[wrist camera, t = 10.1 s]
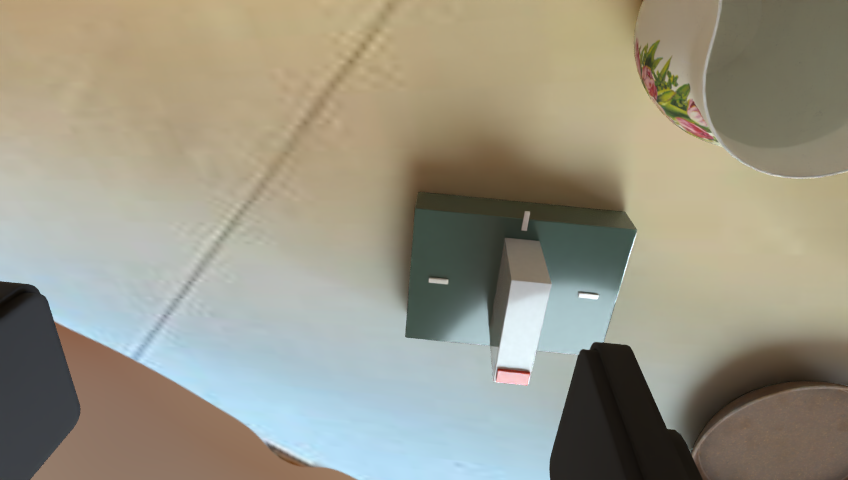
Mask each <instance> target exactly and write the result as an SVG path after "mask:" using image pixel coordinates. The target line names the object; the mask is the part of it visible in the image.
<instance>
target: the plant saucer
mask: <svg viewBox="0 0 848 480" xmlns="http://www.w3.org/2000/svg"><path fill="white" fill-rule="evenodd" d="M691 455H692V457H693V459H694V461H695V464H696V466H697V468H698V470H699V472H700V474H701V476H702V478H703V480H848V386H845V385H840V384H834V383H826V382H813V381H796V382H786V383H779V384H775V385H771V386H767V387H763V388H760V389H757V390H754V391H751V392H749V393H747V394H745V395H743V396H741V397H739V398H737V399H735V400H734V401H732V402H730V403H729V404H727V405H726V406H725V407H723V408H722V409H721V410H720V411H718V412H717V413H716V414H715V415H714V416H713V417H712V418H711V420H710V421H709V422H708V423H707V424H706V426H705V427H704V429H703V430H702V432H701V433H700V435H699V437H698V438H697V440H696V442H695V445H694V447H693V449H692V452H691Z"/></svg>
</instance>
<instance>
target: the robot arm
mask: <svg viewBox="0 0 848 480" xmlns="http://www.w3.org/2000/svg"><path fill="white" fill-rule="evenodd" d="M79 416H80V404H79V401H78V397H77V394H76V391H75V388H74V385H73V381H72V378H71V375H70V371H69V368H68V365H67V362H66V359H65V356H64V352H63V349H62V346H61V342H60V339H59V336H58V333H57V330H56V326H55V323H54V320H53V317H52V313H51V310H50V307H49V304H48V301H47V299H46V297H45V296H43V295H41V294H40V292H39V290H38V289H37V288H36V287H35V286H33V285H29V284H21V283H11V282H1V281H0V480H30V479H31V478H32V477H33V476H34V474H35V473H36V472H37V471H38V470H39V468H40V467H41V466H42V465H43V464H44V462H45V461H46V460H47V459H48V457H50V455H51V454H52V453H53V452H54V451H55V449H56V448H57V447H58V445H60V443H61V442H62V441H63V440H64V439H65V437H66V436H67V435H68V434H69V433H70V431H71V430H72V429H73V428H74V426H75V425H76V423H77V421H78V419H79ZM550 480H703V478H702V476H701V474H700V472H699V470H698V468H697V466H696V464H695V461H694V459H693V457H692V455H691V453H690V451H689V449H688V446H687V444H686V442H685V441H684V439H683V438H682V436H681V435H680V434H679V433H678V432H677V431H676V430H670V429H667V428H666V426H665V423H664V421H663V419H662V416H661V414H660V412H659V410H658V407H657V405H656V403H655V401H654V398H653V396H652V394H651V392H650V389H649V387H648V385H647V383H646V380H645V378H644V376H643V374H642V371H641V369H640V367H639V365H638V362H637V360H636V358H635V355H634V353H633V351H632V349H631V348H630V347H629V346H628V345H621V344H611V343H601V342H594V343H593V344H592V345H591V347H590V350H586V349H582V350H581V351H580V352H579V355H578V358H577V362H576V366H575V369H574V373H573V377H572V380H571V384H570V387H569V391H568V395H567V398H566V402H565V406H564V409H563V413H562V417H561V420H560V424H559V428H558V431H557V435H556V439H555V442H554V446H553V450H552V453H551V458H550Z"/></svg>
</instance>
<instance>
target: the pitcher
mask: <svg viewBox="0 0 848 480" xmlns="http://www.w3.org/2000/svg"><path fill="white" fill-rule="evenodd" d="M634 55H635V60H636V65H637V70H638V73H639V76H640V79H641V82H642V84H643V86H644V88H645V90H646V91H647V93H648V95H649V97H650V98H651V100H652V101H653V102H654V104H655V105H656V106H657V108H658V109H659V110H660V111H661V112H662V113H663V114H664V115H665V116H666V117H667V118H668V119H669V120H670V121H671V122H673V123H674V124H675V125H676V126H678V127H679V128H681V129H682V130H684V131H685V132H687V133H688V134H690V135H692V136H694V137H696V138H699V139H701V140H703V141H705V142H708V143H711V144H714V145H717V146H721V147H723V148H724V149H725V150H726V151H727V152H728V153H729V154H730V155H731V156H733V157H734V158H736V159H737V160H738V161H740V162H741V163H743V164H744V165H746V166H748V167H750V168H752V169H754V170H756V171H759V172H762V173H765V174H768V175H772V176H778V177H783V178H797V179H806V178H820V177H825V176H831V175H836V174H840V173H843V172H847V171H848V0H643V2H642V4H641V7H640V10H639V13H638V17H637V22H636V27H635V34H634Z"/></svg>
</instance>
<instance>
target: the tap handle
mask: <svg viewBox="0 0 848 480" xmlns="http://www.w3.org/2000/svg"><path fill="white" fill-rule="evenodd" d="M551 285H552V283H551V280H550V276H549V273H548V269H547V266H546V262H545V259H544V255H543V252H542V248H541V244H540V241H533V240H523V239H513V238H505V240H504V246H503V252H502V258H501V264H500V269H499V275H498V281H497V287H496V293H495V299H494V305H493V311H492V317H491V323H490V329H489V335H490V349H491V362H492V376H493V382H499V383H508V384H518V385H529V382H530V378H531V373H532V369H533V365H534V360H535V356H536V351H537V347H538V342H539V338H540V334H541V329H542V325H543V320H544V316H545V312H546V307H547V303H548V298H549V294H550V289H551Z"/></svg>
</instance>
